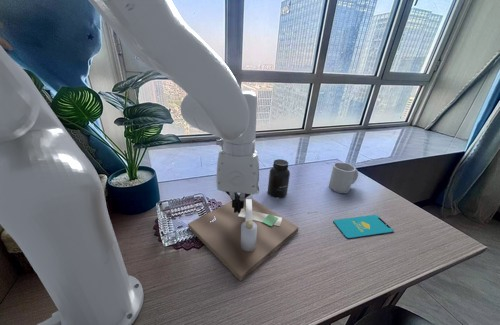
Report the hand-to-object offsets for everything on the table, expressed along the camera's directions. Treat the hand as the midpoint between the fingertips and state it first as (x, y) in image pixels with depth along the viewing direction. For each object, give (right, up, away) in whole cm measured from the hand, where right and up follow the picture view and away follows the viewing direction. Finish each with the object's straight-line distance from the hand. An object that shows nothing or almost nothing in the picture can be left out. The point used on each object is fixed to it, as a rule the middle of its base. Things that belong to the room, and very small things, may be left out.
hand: (238, 209), depth 57 cm
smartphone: (+35, -6, +4) cm, 36 cm away
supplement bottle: (+13, +2, +17) cm, 22 cm away
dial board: (+1, -6, +1) cm, 6 cm away
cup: (+38, +3, +22) cm, 44 cm away
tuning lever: (+3, -5, -2) cm, 6 cm away
